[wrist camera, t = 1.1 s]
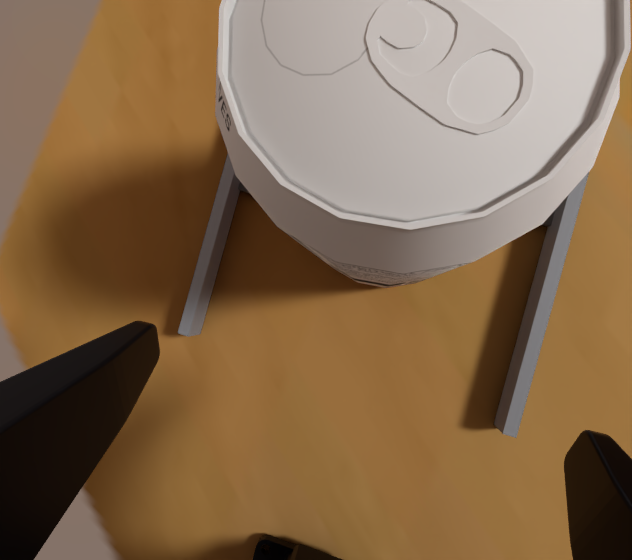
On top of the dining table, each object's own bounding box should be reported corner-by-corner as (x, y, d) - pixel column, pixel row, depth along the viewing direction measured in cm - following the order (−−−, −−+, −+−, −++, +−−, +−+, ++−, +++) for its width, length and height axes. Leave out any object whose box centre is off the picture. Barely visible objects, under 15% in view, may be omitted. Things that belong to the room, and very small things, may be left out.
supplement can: (276, 219, 23) (99, 76, 8) (378, 98, 23) (387, -287, 8) (394, 320, 22) (438, 366, 7) (504, 195, 22) (792, -34, 7)
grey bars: (505, 428, 21) (516, 437, 20) (190, 330, 23) (177, 333, 22) (603, 71, 21) (621, 54, 20) (279, 10, 23) (273, -9, 22)
